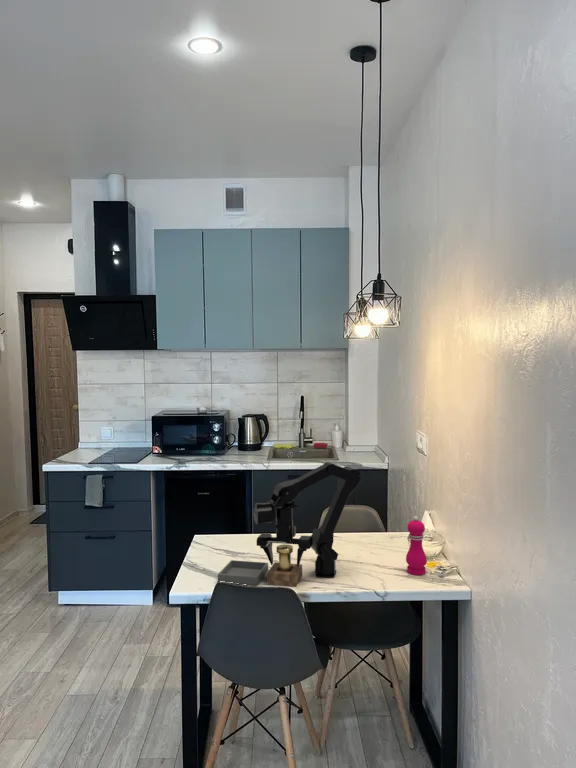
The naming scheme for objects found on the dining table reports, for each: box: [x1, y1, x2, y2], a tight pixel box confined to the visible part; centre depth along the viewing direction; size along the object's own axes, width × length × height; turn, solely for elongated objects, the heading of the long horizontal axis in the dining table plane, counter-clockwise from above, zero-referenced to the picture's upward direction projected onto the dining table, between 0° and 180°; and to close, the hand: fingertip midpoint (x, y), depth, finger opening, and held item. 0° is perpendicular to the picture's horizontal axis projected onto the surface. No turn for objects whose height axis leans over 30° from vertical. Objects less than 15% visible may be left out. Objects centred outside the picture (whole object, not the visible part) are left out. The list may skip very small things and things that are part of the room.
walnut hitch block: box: [266, 562, 303, 588], centre depth 190 cm, size 10×10×4 cm
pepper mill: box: [405, 515, 428, 576], centre depth 195 cm, size 7×7×20 cm
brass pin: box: [276, 543, 294, 572], centre depth 190 cm, size 6×6×12 cm
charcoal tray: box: [217, 559, 269, 587], centre depth 194 cm, size 14×14×3 cm
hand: (285, 565), depth 190 cm, fingers open, 9 cm apart
